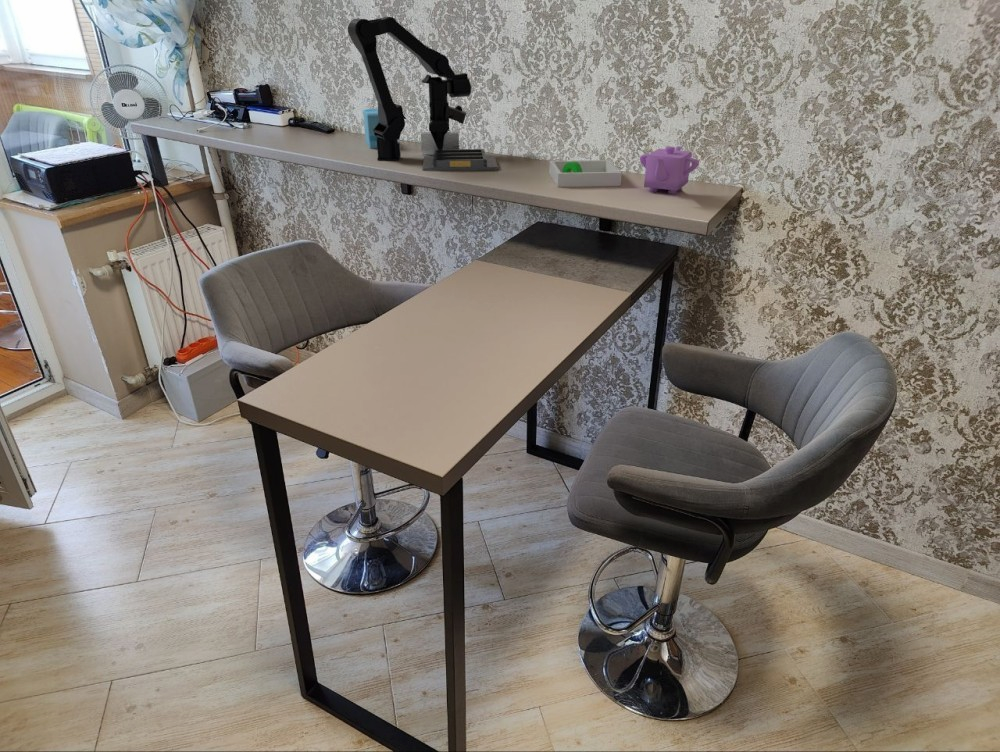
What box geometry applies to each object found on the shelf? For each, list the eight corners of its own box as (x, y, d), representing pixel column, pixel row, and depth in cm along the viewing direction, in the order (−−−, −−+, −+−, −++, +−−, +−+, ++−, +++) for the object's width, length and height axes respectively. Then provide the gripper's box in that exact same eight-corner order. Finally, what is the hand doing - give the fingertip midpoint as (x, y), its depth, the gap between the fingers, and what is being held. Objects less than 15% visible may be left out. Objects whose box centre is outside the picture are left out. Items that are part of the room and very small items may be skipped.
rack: (422, 171, 200) (422, 160, 199) (424, 159, 216) (423, 149, 214) (497, 170, 201) (497, 159, 200) (494, 158, 217) (494, 148, 215)
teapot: (630, 184, 185) (634, 142, 180) (676, 182, 188) (681, 140, 183) (653, 198, 172) (658, 153, 167) (702, 195, 175) (709, 151, 170)
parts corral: (557, 187, 183) (558, 173, 181) (549, 173, 198) (549, 160, 196) (620, 186, 184) (621, 172, 182) (607, 172, 199) (608, 160, 197)
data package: (384, 151, 228) (381, 113, 223) (370, 152, 227) (367, 113, 221) (379, 145, 238) (376, 108, 233) (365, 145, 237) (362, 108, 232)
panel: (421, 156, 220) (420, 133, 217) (422, 154, 223) (421, 132, 219) (459, 156, 221) (458, 133, 218) (459, 154, 223) (458, 131, 220)
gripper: (464, 101, 206) (466, 155, 213) (463, 94, 222) (464, 145, 230) (427, 102, 205) (430, 156, 213) (429, 95, 222) (431, 145, 229)
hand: (440, 150), depth 221 cm, fingers closed on panel, 3 cm apart
